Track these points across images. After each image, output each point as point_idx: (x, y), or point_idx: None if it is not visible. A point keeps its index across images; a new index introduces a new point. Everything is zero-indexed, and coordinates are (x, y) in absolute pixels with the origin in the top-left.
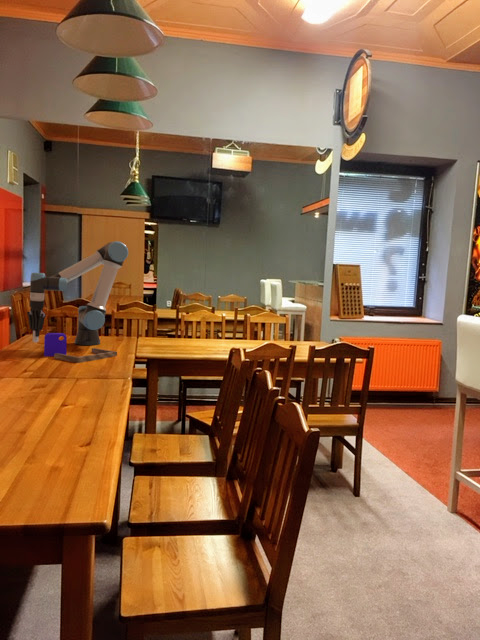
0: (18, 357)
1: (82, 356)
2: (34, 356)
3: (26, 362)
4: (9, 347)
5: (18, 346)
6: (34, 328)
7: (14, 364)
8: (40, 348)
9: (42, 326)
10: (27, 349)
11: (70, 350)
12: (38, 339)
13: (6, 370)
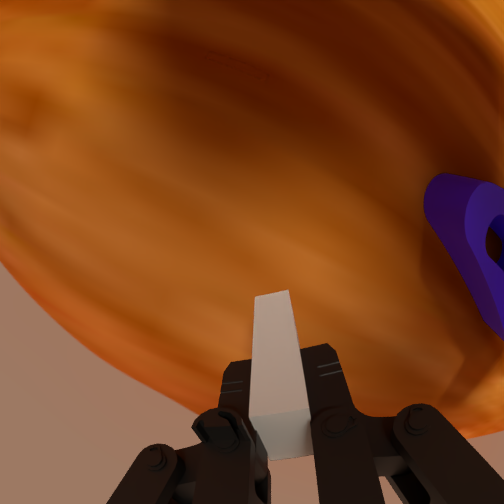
0: None
1: None
2: (473, 369)
3: (498, 400)
4: (137, 380)
5: (106, 325)
6: (257, 479)
7: (485, 423)
8: (268, 229)
9: (471, 455)
10: None
11: (466, 81)
12: (290, 307)
13: (497, 431)
